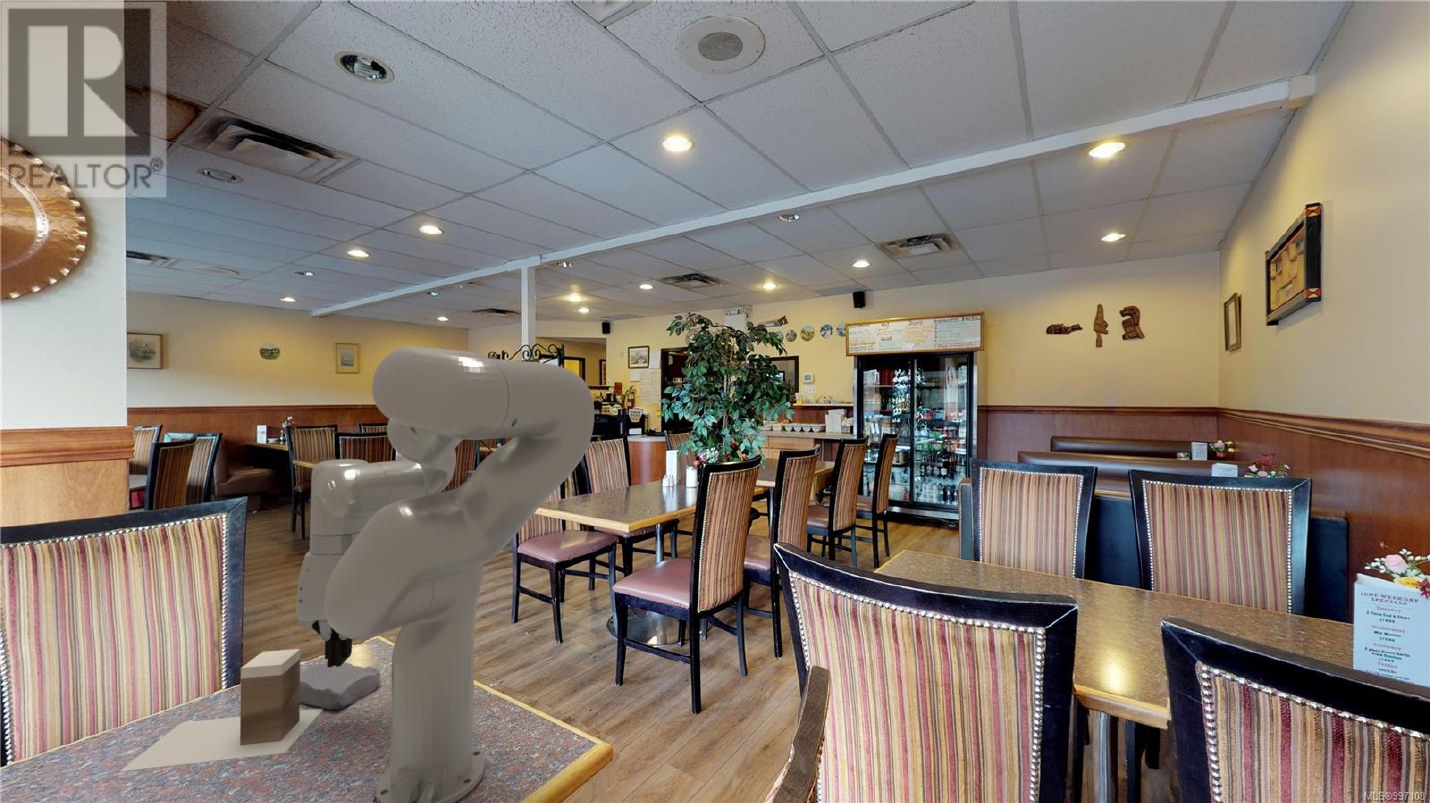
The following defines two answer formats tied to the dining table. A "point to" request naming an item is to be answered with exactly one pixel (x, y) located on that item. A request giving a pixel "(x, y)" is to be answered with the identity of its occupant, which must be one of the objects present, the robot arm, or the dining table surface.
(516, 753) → the dining table surface
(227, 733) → the beige mat
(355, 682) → the stone block
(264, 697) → the walnut block
